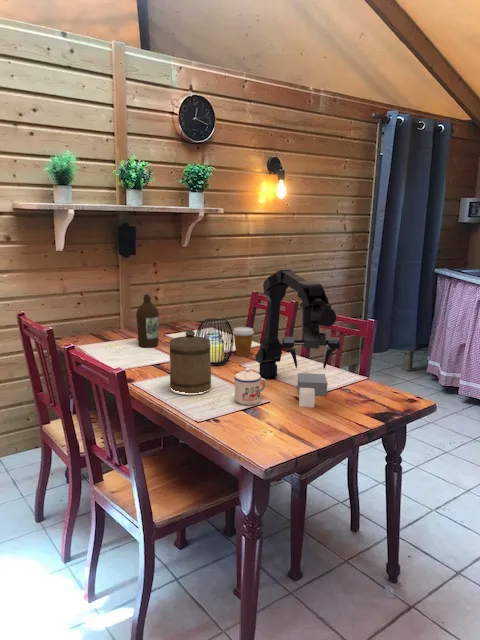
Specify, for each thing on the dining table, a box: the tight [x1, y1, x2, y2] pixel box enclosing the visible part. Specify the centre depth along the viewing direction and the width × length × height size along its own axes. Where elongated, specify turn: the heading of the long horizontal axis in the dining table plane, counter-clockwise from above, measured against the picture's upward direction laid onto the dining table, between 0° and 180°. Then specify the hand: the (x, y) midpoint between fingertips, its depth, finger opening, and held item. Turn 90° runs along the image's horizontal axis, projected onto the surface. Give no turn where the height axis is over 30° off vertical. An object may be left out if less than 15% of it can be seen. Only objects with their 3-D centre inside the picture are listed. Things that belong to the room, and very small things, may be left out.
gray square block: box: [297, 372, 328, 397], centre depth 181 cm, size 10×10×5 cm
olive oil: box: [135, 293, 160, 349], centre depth 237 cm, size 11×11×25 cm
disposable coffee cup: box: [232, 326, 255, 358], centre depth 225 cm, size 10×10×12 cm
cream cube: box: [298, 388, 316, 408], centre depth 168 cm, size 5×5×5 cm
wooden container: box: [169, 329, 212, 393], centre depth 180 cm, size 15×15×22 cm
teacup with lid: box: [234, 367, 267, 406], centre depth 170 cm, size 12×9×12 cm
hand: (310, 367), depth 166 cm, fingers open, 9 cm apart
